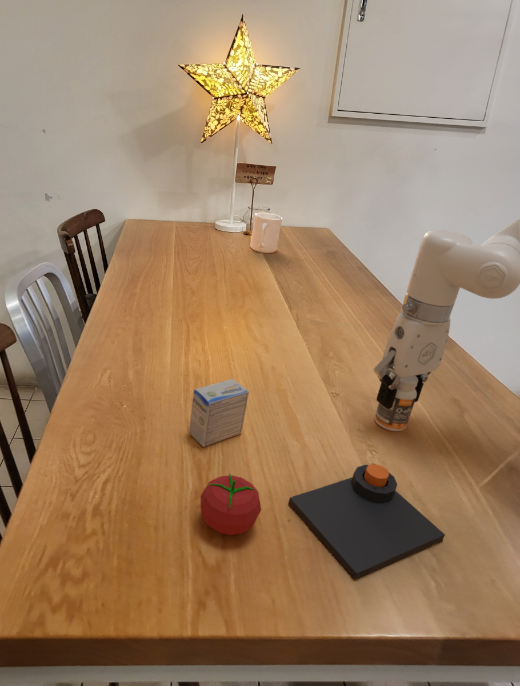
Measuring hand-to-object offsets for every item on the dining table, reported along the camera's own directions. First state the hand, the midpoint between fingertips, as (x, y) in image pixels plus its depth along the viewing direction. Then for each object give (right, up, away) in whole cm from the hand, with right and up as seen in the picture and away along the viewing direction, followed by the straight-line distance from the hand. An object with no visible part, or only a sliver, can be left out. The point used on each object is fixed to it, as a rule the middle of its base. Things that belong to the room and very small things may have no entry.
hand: (397, 400), depth 96 cm
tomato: (-31, -14, -24) cm, 42 cm away
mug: (-16, +44, +91) cm, 102 cm away
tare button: (-9, -10, -17) cm, 22 cm away
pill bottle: (-1, -5, +2) cm, 5 cm away
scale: (-12, -15, -21) cm, 28 cm away
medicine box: (-32, -5, -7) cm, 33 cm away
